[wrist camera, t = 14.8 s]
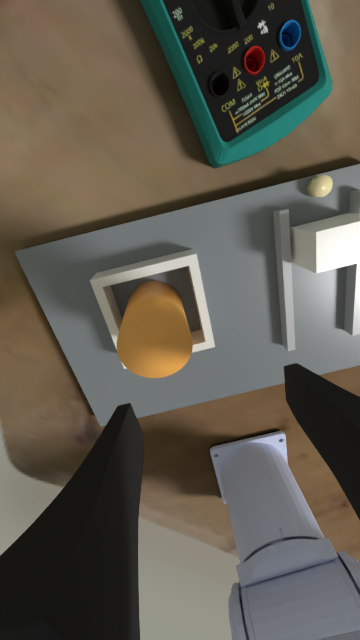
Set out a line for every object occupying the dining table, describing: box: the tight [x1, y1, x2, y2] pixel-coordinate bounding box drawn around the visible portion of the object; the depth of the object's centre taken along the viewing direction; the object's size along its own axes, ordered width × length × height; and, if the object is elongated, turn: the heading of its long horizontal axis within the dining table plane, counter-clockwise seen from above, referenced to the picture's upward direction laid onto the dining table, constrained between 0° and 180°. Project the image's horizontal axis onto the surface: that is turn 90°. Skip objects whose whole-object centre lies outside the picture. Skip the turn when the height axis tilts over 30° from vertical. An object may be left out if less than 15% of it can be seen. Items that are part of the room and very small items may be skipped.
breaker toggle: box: [290, 213, 360, 273], centre depth 16 cm, size 2×4×3 cm, turn 103°
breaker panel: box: [15, 163, 360, 427], centre depth 19 cm, size 16×24×3 cm, turn 103°
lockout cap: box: [116, 281, 193, 378], centre depth 16 cm, size 4×4×6 cm
